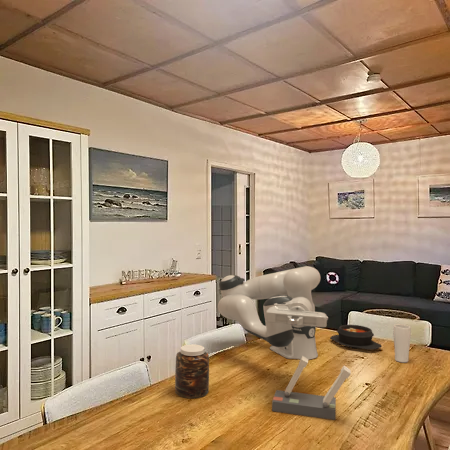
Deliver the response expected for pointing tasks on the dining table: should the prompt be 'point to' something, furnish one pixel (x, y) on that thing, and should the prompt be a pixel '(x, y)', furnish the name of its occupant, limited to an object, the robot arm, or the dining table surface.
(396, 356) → the drinking glass
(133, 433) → the dining table surface
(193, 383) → the jar
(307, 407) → the panel
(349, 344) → the casserole
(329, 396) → the on lever
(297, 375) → the lever
